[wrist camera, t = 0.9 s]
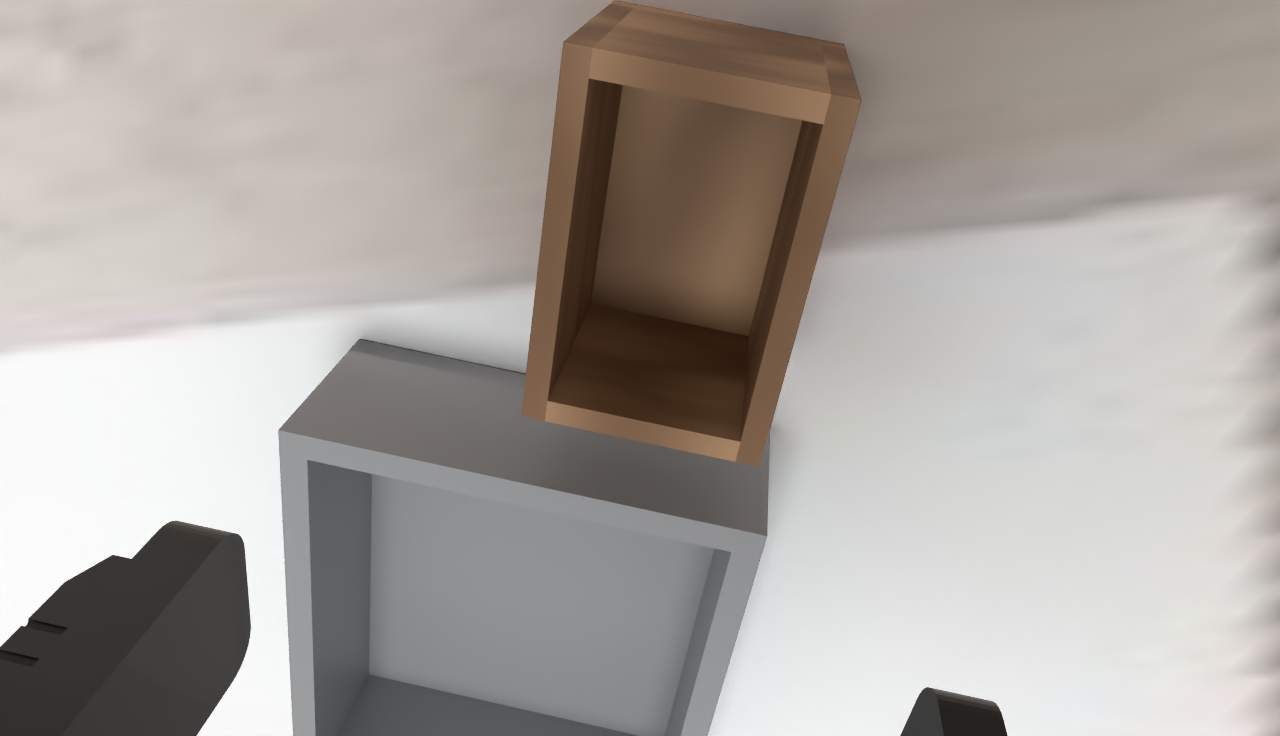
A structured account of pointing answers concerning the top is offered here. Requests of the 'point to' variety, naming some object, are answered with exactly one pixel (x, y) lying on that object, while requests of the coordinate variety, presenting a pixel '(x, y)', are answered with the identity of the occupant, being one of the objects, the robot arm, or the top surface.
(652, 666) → the crate large
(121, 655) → the robot arm
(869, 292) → the top surface
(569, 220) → the crate small
